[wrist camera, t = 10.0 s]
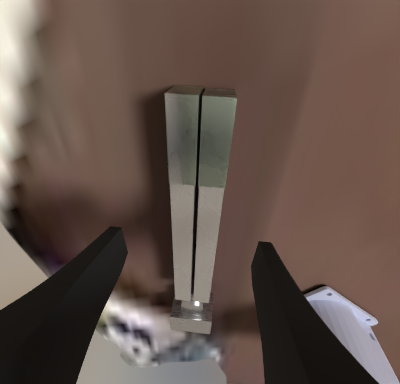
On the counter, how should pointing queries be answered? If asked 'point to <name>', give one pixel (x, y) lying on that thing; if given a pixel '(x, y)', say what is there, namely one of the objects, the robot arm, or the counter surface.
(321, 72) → the counter surface
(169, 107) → the arm
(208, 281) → the bar
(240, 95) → the counter surface
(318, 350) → the robot arm
